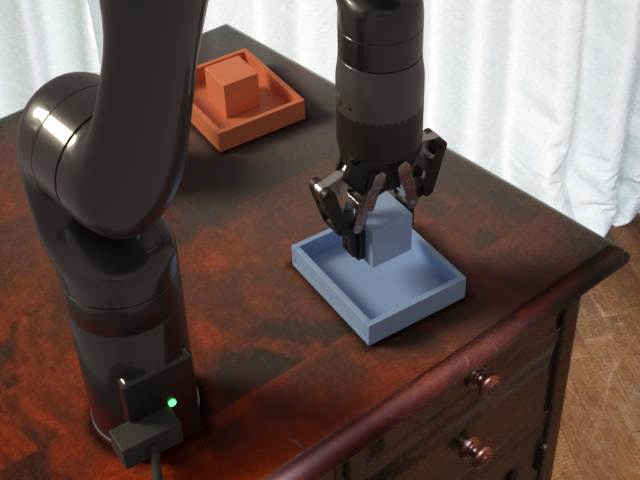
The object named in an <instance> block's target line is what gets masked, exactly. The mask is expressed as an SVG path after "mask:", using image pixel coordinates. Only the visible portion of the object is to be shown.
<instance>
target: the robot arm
mask: <svg viewBox="0 0 640 480" xmlns="http://www.w3.org/2000/svg"><path fill="white" fill-rule="evenodd" d="M209 1H210V0H98V3H99V9H100V16H101V25H102V27H101V28H102V56H101V65H100V72H101V73H100V75H98V74H95V73H96V72H89V71H71V72H70V71H69V72H66V73H63V74H60V75H57V76H55V77H53V78H51V79H49V80H48V81H46V82H45V83H43V84H42V85H41V86H40V87H39V88H38V89H37V90H35V92H34V93H33V94H32V96H31V97H30V98H29V100H28V101H27V103H26V104H25V106H24V108H23V109H22V112H21V115H20V117H19V121H18V124H17V128H16V134H15V154H16V155H15V156H16V161H17V168H18V171H19V176H20V179H21V183H22V187H23V189H24V194H25V196H26V200H27V204H28V208H29V211H30V213H31V216H32V220H33V223H34V228H35V231H36V233H37V236H38V239H39V241H40V244H41V246H42V248H43V250H44V252H45V253H46V255H47V257H48V259H49V260H50V261H51V263H52V265H53V266H54V268H55V271H56V273H57V277H58V280H59V281H58V282H59V286H60V290H61V293H62V297H63V301H64V306H65V311H66V314H67V318H68V323H69V327H70V331H71V336H72V340H73V344H74V348H75V352H76V356H77V361H78V365H79V368H80V373H81V377H82V381H83V384H84V385H83V386H84V390H85V393H86V397H87V400H88V403H89V413H90V417H91V422H92V426H93V429H94V431H95V433H96V434H97V436H98V437H99V439H101V441H103V442H104V443H105V444H107V446H109V447H111V448H112V450H113V452H114V453H115V455H116V456H117V458H118V459H119V461H120V462H121V464H122V465H123V467H124V468H125V470H130V469H131V468H134V467H135V466H138V465H140V464H141V463H144V462H145V461H147V460H149V461H150V470H151V479H152V480H164V476H163V468H162V460H161V453H163V452H165V451H167V450H169V449H171V448H173V447H175V446H177V445H179V444H181V443H183V442H184V441H185V439H186V438H188V437H190V436H192V435H194V434H196V433H198V432H200V431H201V430H202V428H203V427H202V426H203V425H202V420H201V414H200V413H201V397H200V392H199V388H198V386H197V379H196V373H195V366H194V359H193V351H192V344H191V338H190V331H189V324H188V318H187V310H186V309H187V308H186V301H185V295H184V289H183V279H182V274H181V273H182V272H181V267H180V260H179V253H178V246H177V239H176V237H175V233H174V231H173V228H172V226H171V224H170V222H169V221H168V220H167V218H166V217H165V215H164V214H166V211H167V210H168V209H169V207H170V205H171V204H172V202H173V200H174V198H175V197H176V194H177V191H178V189H179V186H180V184H181V182H182V179H183V175H184V171H185V167H186V162H187V157H188V150H189V144H190V143H189V142H190V134H191V126H192V123H191V118H192V109H193V100H194V91H195V82H196V73H197V65H199V64H198V63H199V57H200V56H199V55H200V49H201V42H202V39H203V31H204V26H205V21H206V16H207V10H208V6H209ZM335 3H336V35H337V37H336V38H337V39H336V42H337V55H336V63H335V70H334V85H335V86H334V87H335V88H334V89H335V95H334V97H335V131H336V132H335V134H336V142H337V146H338V150H339V157H338V159H337V162H336V163H335V169H334V170H335V171H333V172H332V173H331V174H329V175H328V176H327V177H326V178H324V179H321V178H320V177H319V176H314V177H312V178H311V179H310V180H309V182H308V188H309V190H310V192H311V196H312V197H313V200H314V202H315V205H316V207H317V210H318V212H319V214H320V217H321V220H322V221H323V222H324V224H326V226H328V227H329V228H331V229H332V230H333V231H334V232H335V233H336V234H337V235H338V236H342V238H343V239H342V241H343V242H342V245H343V248H344V249H345V250H346V251H347V252H348V253H349V254H350V255H351V256H352V257H355V258H356V259H357V260H361V259H363V258H365V256H366V254H365V229H364V227H365V224H366V221H367V217H368V214H369V213H371V212H373V211H374V208H375V205H376V201H377V198H378V196H379V195H381V194H382V193H384V192H385V191H388V192H389V191H391V193H392V195H394V198H395V199H396V200H398V201H399V202H400V203H401V204H402V205H403V206H404V207H405V208H407V209H408V210H409V211H410V212H411V213H412V229H414V228H413V227H414V225H415V224H414V223H415V218H414V217H415V207H417V205H418V203H419V199H420V198H421V197H422V196H424V197H430V195H432V193H433V192H434V190H435V187H436V183H437V181H438V177H439V173H440V170H441V167H442V164H443V160H444V157H445V154H446V150H447V147H448V142H447V141H446V140H445V139H444V138H443V137H442V136H440V135H439V134H438V133H437V132H436V131H434V130H432V129H431V127H426V128H424V116H425V115H424V113H425V90H426V89H425V88H426V69H425V67H426V66H425V61H424V35H425V4H424V3H425V2H424V0H335ZM423 173H424V177H423ZM342 186H343V187H342ZM341 189H342V190H341ZM340 201H342V204H341V205H340ZM354 208H355V215H354V214H353V212H354Z"/></svg>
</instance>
